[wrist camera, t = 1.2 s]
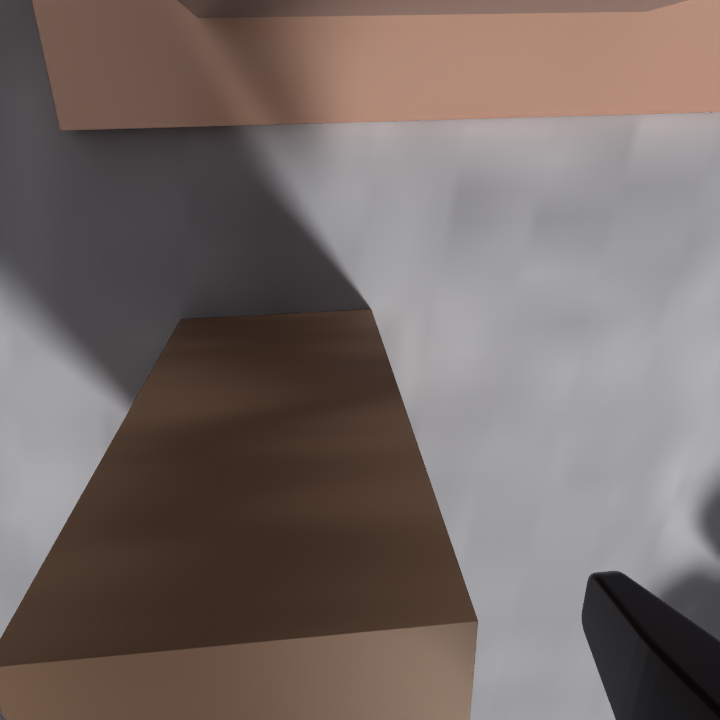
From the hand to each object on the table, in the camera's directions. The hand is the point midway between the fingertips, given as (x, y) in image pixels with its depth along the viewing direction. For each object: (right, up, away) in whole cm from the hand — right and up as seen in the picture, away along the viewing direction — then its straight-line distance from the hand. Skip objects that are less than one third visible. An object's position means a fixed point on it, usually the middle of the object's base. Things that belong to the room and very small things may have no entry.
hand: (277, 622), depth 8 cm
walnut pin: (-1, +3, +6) cm, 7 cm away
